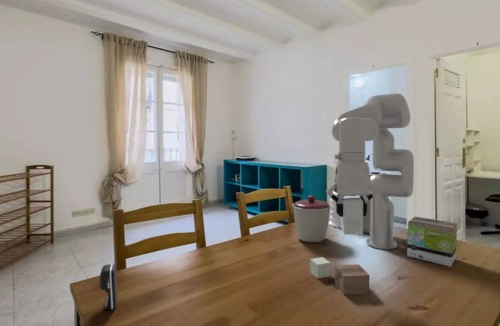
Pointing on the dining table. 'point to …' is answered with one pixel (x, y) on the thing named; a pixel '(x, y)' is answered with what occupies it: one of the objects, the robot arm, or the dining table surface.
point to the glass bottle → (367, 220)
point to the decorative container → (334, 214)
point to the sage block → (320, 267)
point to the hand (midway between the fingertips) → (351, 214)
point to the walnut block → (352, 279)
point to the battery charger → (109, 285)
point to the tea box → (432, 240)
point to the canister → (311, 219)
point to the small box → (352, 215)
